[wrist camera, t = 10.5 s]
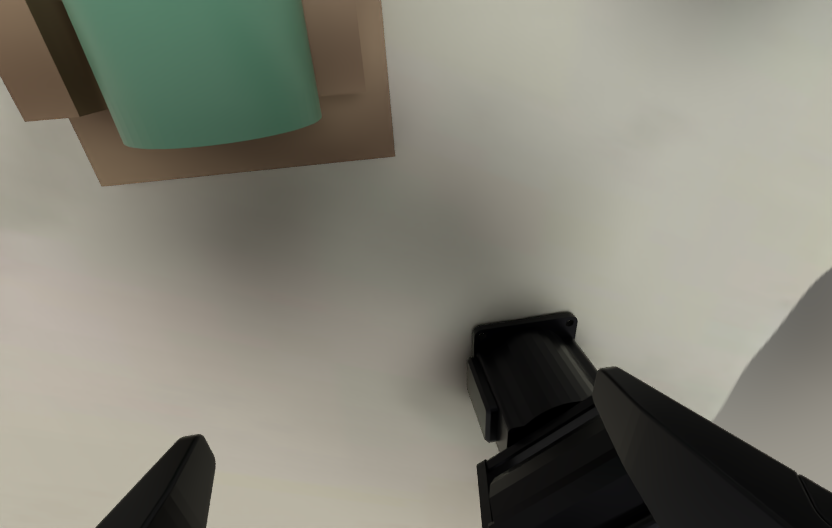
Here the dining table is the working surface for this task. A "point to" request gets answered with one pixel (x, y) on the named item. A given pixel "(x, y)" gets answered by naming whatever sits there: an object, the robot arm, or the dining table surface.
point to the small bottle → (199, 68)
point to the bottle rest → (119, 164)
